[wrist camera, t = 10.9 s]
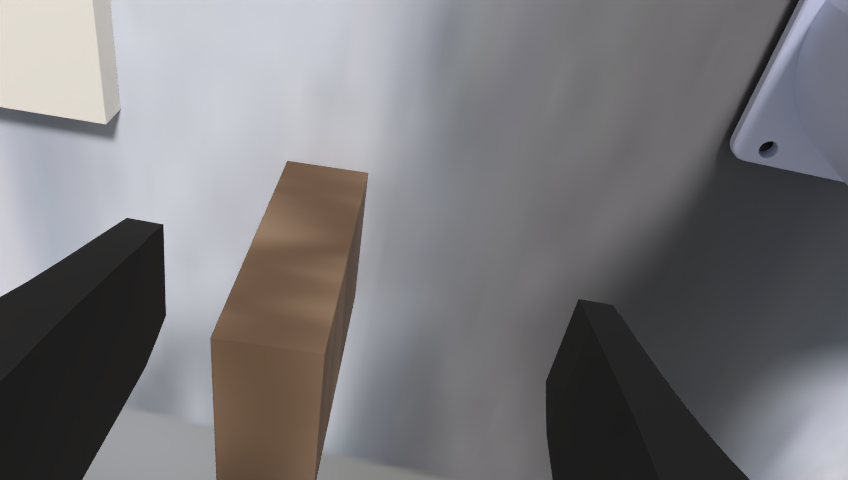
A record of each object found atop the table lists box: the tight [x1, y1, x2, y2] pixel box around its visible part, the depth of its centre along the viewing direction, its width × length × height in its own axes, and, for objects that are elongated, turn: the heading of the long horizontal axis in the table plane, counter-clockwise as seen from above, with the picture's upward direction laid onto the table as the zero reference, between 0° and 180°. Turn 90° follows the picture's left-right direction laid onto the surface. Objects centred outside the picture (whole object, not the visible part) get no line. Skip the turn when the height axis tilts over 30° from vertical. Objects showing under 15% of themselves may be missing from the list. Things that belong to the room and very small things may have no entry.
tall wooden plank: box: [211, 161, 368, 480], centre depth 21 cm, size 2×5×8 cm, turn 172°
